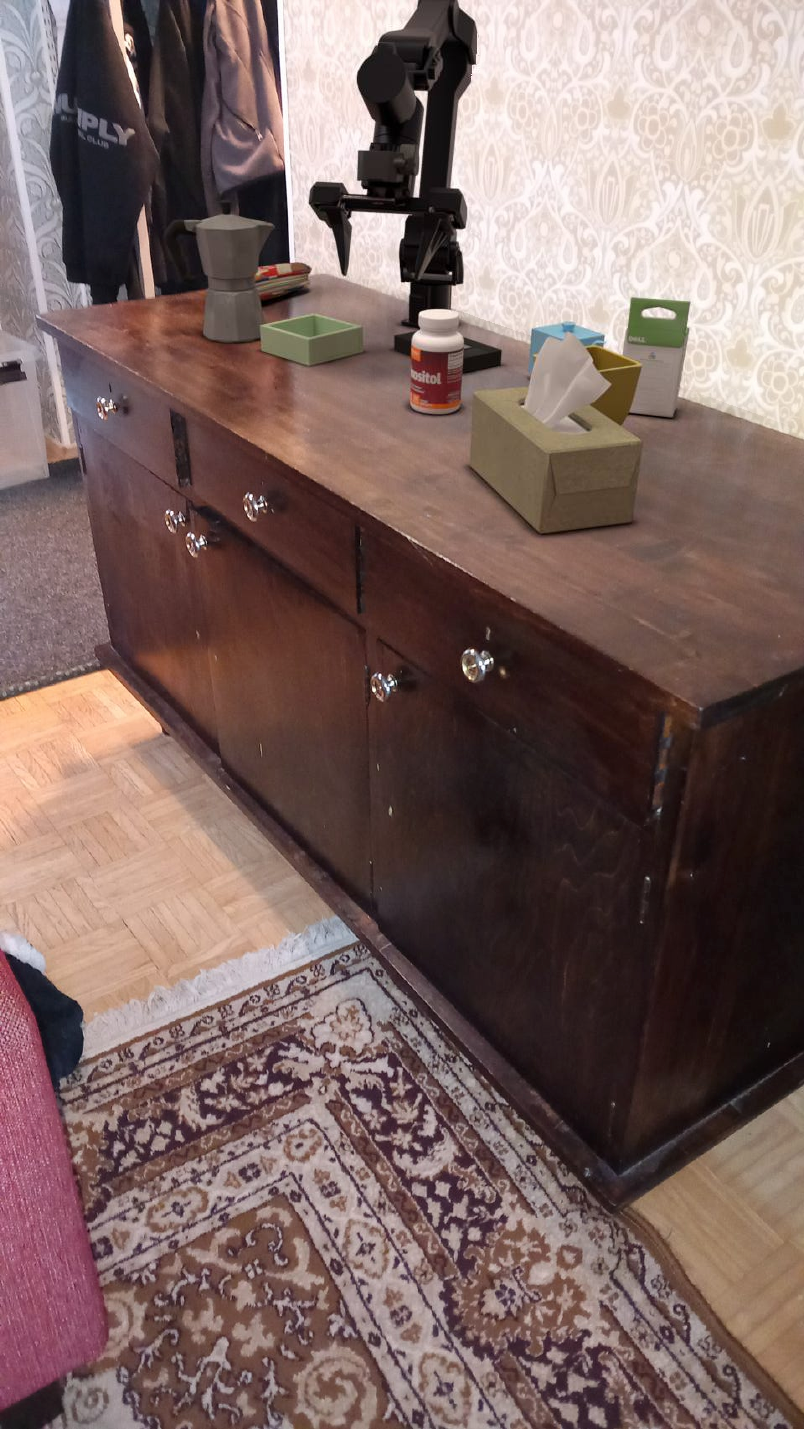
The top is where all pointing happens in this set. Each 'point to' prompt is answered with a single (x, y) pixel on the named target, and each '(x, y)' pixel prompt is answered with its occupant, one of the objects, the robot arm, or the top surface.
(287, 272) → the pencil case
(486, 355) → the vhs tape
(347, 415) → the top surface
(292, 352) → the box
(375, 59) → the robot arm
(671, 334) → the ink box
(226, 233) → the coffeepot
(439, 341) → the pill bottle
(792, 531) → the top surface
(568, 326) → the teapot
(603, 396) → the flower pot
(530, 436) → the tissue box
